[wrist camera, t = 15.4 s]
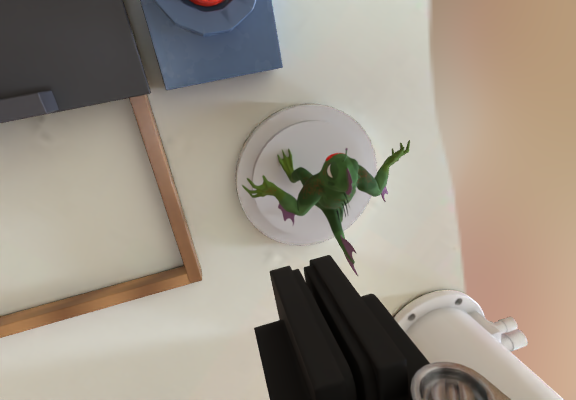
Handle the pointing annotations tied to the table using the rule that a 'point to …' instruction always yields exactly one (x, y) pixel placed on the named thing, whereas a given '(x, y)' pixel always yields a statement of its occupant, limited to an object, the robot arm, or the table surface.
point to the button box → (211, 39)
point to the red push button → (207, 2)
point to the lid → (66, 56)
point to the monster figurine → (309, 175)
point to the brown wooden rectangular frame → (138, 286)
